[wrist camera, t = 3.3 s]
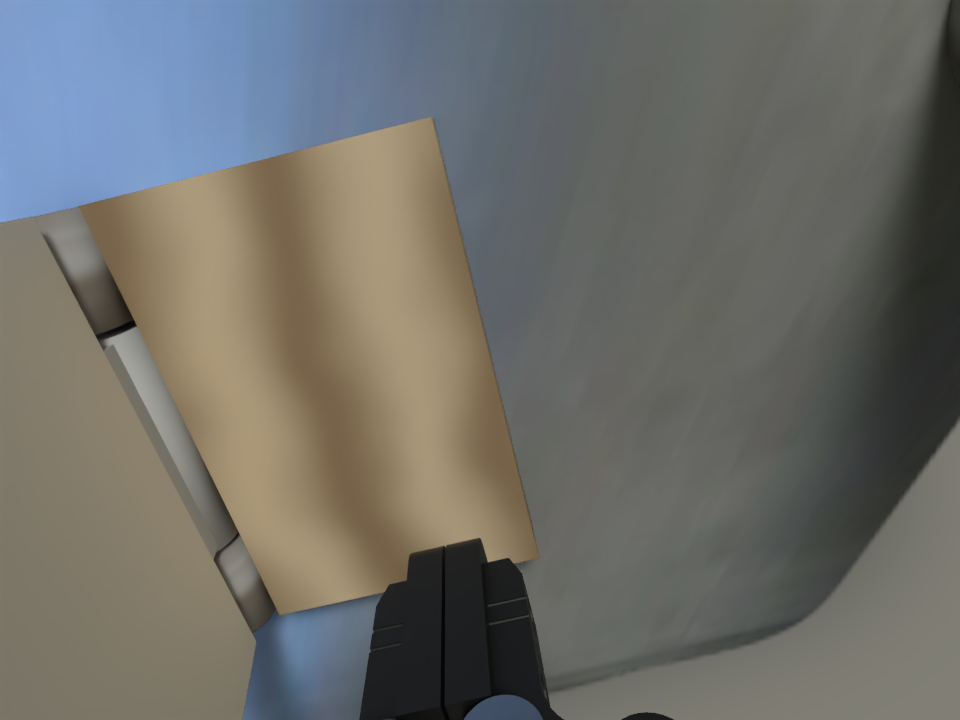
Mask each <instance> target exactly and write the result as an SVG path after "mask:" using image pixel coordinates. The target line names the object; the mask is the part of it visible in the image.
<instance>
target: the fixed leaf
mask: <svg viewBox="0 0 960 720" xmlns="http://www.w3.org/2000/svg"><path fill="white" fill-rule="evenodd" d="M33 219H34V220H35V222H36V224H37V226H38V228H39V230H40V232H41V234H42V236H43V238H44V239H45V241H46V243H47V245H48V247H49V249H50V251H51V253H52V255H53V256H54V258H55V260H56V262H57V264H58V266H59V268H60V270H61V272H62V274H63V275H64V277H65V279H66V281H67V283H68V285H69V287H70V289H71V291H72V293H73V294H74V296H75V298H76V300H77V302H78V304H79V306H80V308H81V310H82V312H83V313H84V315H85V317H86V319H87V321H88V323H89V325H90V327H91V329H92V331H93V332H94V334H95V335H97V334H100V333H103V332H106V331H108V330H111V329H114V328H116V327H119V326H121V325H123V324H126V323H128V322H130V321H132V320H134V321H135V323H136V325H137V327H138V329H139V331H140V333H141V335H142V337H143V339H144V341H145V343H146V345H147V347H148V349H149V351H150V353H151V355H152V357H153V359H154V361H155V363H156V365H157V367H158V369H159V371H160V373H161V375H162V377H163V379H164V381H165V383H166V386H167V388H168V390H169V392H170V394H171V396H172V398H173V400H174V402H175V404H176V406H177V408H178V410H179V412H180V414H181V416H182V418H183V420H184V422H185V424H186V426H187V428H188V430H189V432H190V434H191V436H192V438H193V440H194V442H195V444H196V446H197V448H198V450H199V452H200V454H201V457H202V459H203V461H204V463H205V465H206V467H207V469H208V471H209V473H210V475H211V477H212V479H213V481H214V483H215V485H216V487H217V489H218V491H219V493H220V495H221V497H222V499H223V501H224V503H225V505H226V507H227V509H228V511H229V513H230V515H231V517H232V519H233V521H234V523H235V525H236V528H237V530H238V533H237V534H236V536H235V537H234V538H233V539H232V540H231V541H230V542H229V543H228V544H227V545H226V546H225V547H223V548H222V549H221V550H219V551H218V552H216V553H215V557H214V562H215V564H216V566H217V568H218V570H219V572H220V573H221V575H222V577H223V579H224V581H225V583H226V585H227V587H228V589H229V591H230V592H231V594H232V596H233V598H234V600H235V602H236V604H237V606H238V608H239V610H240V611H241V613H242V615H243V617H244V619H245V621H246V623H247V625H248V627H249V628H250V630H251V632H252V633H253V632H255V631H256V630H258V629H259V628H260V627H261V626H263V625H264V624H265V623H266V622H267V621H268V620H269V619H270V617H271V616H272V615H273V613H274V612H275V610H276V609H277V611H278V613H279V615H283V614H288V613H293V612H297V611H302V610H306V609H311V608H315V607H320V606H324V605H329V604H333V603H338V602H343V601H347V600H352V599H356V598H361V597H365V596H370V595H374V594H379V593H383V592H385V591H386V589H387V587H388V586H389V584H393V583H398V582H402V581H407V571H408V560H409V555H410V553H414V552H418V551H423V550H427V549H432V548H436V547H441V546H445V547H446V545H449V544H453V543H458V542H462V541H467V540H471V539H476V538H481V541H482V543H483V547H484V550H485V554H486V557H487V561H488V562H492V561H496V560H501V559H505V558H510V560H511V561H512V562H513V563H514V564H515V563H520V562H524V561H529V560H533V559H538V558H539V555H538V550H537V546H536V541H535V536H534V531H533V527H532V523H531V518H530V514H529V510H528V506H527V502H526V498H525V494H524V490H523V485H522V481H521V477H520V473H519V469H518V465H517V461H516V457H515V453H514V448H513V444H512V440H511V436H510V432H509V428H508V424H507V420H506V415H505V411H504V407H503V403H502V399H501V395H500V391H499V387H498V383H497V378H496V374H495V370H494V366H493V362H492V358H491V354H490V350H489V345H488V341H487V337H486V333H485V329H484V325H483V321H482V317H481V313H480V308H479V304H478V300H477V296H476V292H475V288H474V284H473V280H472V275H471V271H470V267H469V263H468V259H467V255H466V251H465V247H464V243H463V238H462V234H461V230H460V226H459V222H458V218H457V214H456V210H455V205H454V201H453V197H452V193H451V189H450V185H449V181H448V177H447V173H446V168H445V164H444V160H443V156H442V152H441V148H440V144H439V140H438V135H437V131H436V127H435V123H434V119H433V118H432V117H430V118H426V119H422V120H418V121H414V122H410V123H406V124H402V125H398V126H394V127H390V128H386V129H382V130H378V131H374V132H370V133H366V134H362V135H358V136H355V137H351V138H347V139H343V140H339V141H335V142H331V143H327V144H323V145H319V146H315V147H311V148H307V149H303V150H299V151H295V152H291V153H287V154H283V155H279V156H275V157H272V158H268V159H264V160H260V161H256V162H252V163H248V164H244V165H240V166H236V167H232V168H228V169H224V170H220V171H216V172H212V173H208V174H204V175H200V176H196V177H193V178H189V179H185V180H181V181H177V182H173V183H169V184H165V185H161V186H157V187H153V188H149V189H145V190H141V191H137V192H133V193H129V194H125V195H121V196H117V197H113V198H110V199H106V200H102V201H98V202H94V203H90V204H86V205H82V206H78V207H75V208H71V209H66V210H62V211H57V212H53V213H49V214H44V215H40V216H36V217H33Z"/></svg>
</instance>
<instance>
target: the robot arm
mask: <svg viewBox="0 0 960 720" xmlns="http://www.w3.org/2000/svg"><path fill="white" fill-rule="evenodd" d="M947 31H948V53H949V58H950V62H951V65H952V69H953V73H954V78H955V80H956V82H957V84H958V85H959V87H960V0H951V3H950V9H949V15H948V25H947ZM373 631H374V633H373V634H372V639H371V646H370V649H371V653H369V659H368V666H367V673H366V679H365V686H364V693H363V699H362V706H361V713H360V719H359V720H564V719H562V718H561V717H559V716H558V715H557V714H556V713H555V712H554V711H553V710H552V709H551V708H550V703H549V697H548V692H547V686H546V680H545V675H544V669H543V664H542V658H541V653H540V647H539V641H538V636H537V630H536V626H535V622H534V618H533V614H532V610H531V606H530V603H529V599H528V595H527V591H526V587H525V583H524V580H523V576H522V573H521V572H520V571H519V570H518V568H517V567H516V566H515V565H514V563H513V562H512V561H511V560H510V558H505V559H501V560H496V561H492V562H488V561H487V557H486V554H485V550H484V547H483V543H482V541H481V538H476V539H471V540H467V541H462V542H458V543H453V544H449V545H446V547H445V546H441V547H436V548H432V549H427V550H423V551H418V552H414V553H410V555H409V560H408V571H407V581H402V582H398V583H393V584H389V586H388V587H387V589H386V591H385V592H384V594H383V596H382V598H381V599H380V601H379V603H378V604H377V606H376V613H375V619H374V626H373ZM622 720H673V719H671V718H669V717H667V716H664V715H660V714H656V713H647V712H646V713H637V714H633V715H630V716H628V717H626V718H623V719H622Z"/></svg>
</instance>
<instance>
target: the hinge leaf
mask: <svg viewBox="0 0 960 720" xmlns="http://www.w3.org/2000/svg"><path fill="white" fill-rule="evenodd" d="M237 533H238V530H237V528H236V525H235V523H234V521H233V519H232V517H231V515H230V513H229V511H228V509H227V507H226V505H225V503H224V501H223V499H222V497H221V495H220V493H219V491H218V489H217V487H216V485H215V483H214V481H213V479H212V477H211V475H210V473H209V471H208V469H207V467H206V465H205V463H204V461H203V459H202V457H201V454H200V452H199V450H198V448H197V446H196V444H195V442H194V440H193V438H192V436H191V434H190V432H189V430H188V428H187V426H186V424H185V422H184V420H183V418H182V416H181V414H180V412H179V410H178V408H177V406H176V404H175V402H174V400H173V398H172V396H171V394H170V392H169V390H168V388H167V386H166V383H165V381H164V379H163V377H162V375H161V373H160V371H159V369H158V367H157V365H156V363H155V361H154V359H153V357H152V355H151V353H150V351H149V349H148V347H147V345H146V343H145V341H144V339H143V337H142V335H141V333H140V331H139V329H138V327H137V325H136V323H135V321H130V322H128V323H126V324H123V325H121V326H119V327H116V328H114V329H111V330H108V331H106V332H103V333H100V334H97V335H95V334H94V332H93V331H92V329H91V327H90V325H89V323H88V321H87V319H86V317H85V315H84V313H83V312H82V310H81V308H80V306H79V304H78V302H77V300H76V298H75V296H74V294H73V293H72V291H71V289H70V287H69V285H68V283H67V281H66V279H65V277H64V275H63V274H62V272H61V270H60V268H59V266H58V264H57V262H56V260H55V258H54V256H53V255H52V253H51V251H50V249H49V247H48V245H47V243H46V241H45V239H44V238H43V236H42V234H41V232H40V230H39V228H38V226H37V224H36V222H35V220H34V219H33V217H28V218H23V219H18V220H13V221H7V222H2V223H0V720H242V718H243V713H244V708H245V702H246V697H247V691H248V686H249V680H250V675H251V669H252V664H253V658H254V653H255V647H256V640H255V638H254V636H253V634H252V632H251V630H250V628H249V627H248V625H247V623H246V621H245V619H244V617H243V615H242V613H241V611H240V610H239V608H238V606H237V604H236V602H235V600H234V598H233V596H232V594H231V592H230V591H229V589H228V587H227V585H226V583H225V581H224V579H223V577H222V575H221V573H220V572H219V570H218V568H217V566H216V564H215V562H214V557H215V553H216V552H218V551H219V550H221V549H222V548H223V547H225V546H226V545H227V544H228V543H229V542H230V541H231V540H232V539H233V538H234V537H235V536H236V534H237Z"/></svg>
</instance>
